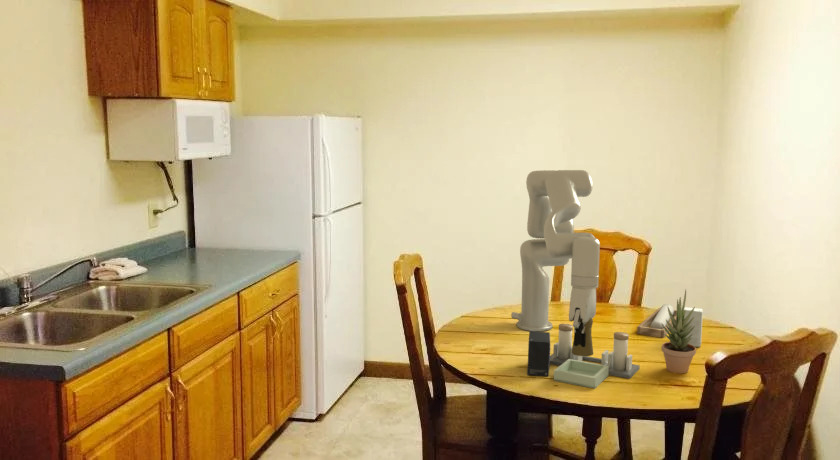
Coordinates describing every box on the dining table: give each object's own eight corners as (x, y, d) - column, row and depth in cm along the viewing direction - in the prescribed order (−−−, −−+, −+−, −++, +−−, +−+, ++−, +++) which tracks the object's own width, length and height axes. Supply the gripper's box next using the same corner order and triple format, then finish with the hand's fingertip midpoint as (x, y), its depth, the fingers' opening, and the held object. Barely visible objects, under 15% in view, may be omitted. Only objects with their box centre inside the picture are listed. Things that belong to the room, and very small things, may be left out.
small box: (549, 377, 210) (550, 341, 209) (526, 375, 211) (527, 340, 210) (549, 365, 220) (550, 331, 219) (527, 363, 222) (528, 330, 220)
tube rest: (637, 333, 253) (637, 326, 253) (658, 314, 278) (658, 307, 278) (663, 337, 248) (664, 330, 248) (683, 317, 273) (683, 311, 273)
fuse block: (544, 362, 222) (545, 327, 220) (556, 354, 231) (557, 319, 229) (630, 378, 209) (631, 340, 207) (639, 368, 217) (641, 332, 215)
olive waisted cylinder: (569, 350, 210) (569, 312, 209) (589, 349, 211) (590, 312, 209) (575, 356, 205) (576, 318, 203) (596, 355, 205) (597, 317, 203)
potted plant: (682, 377, 209) (686, 294, 206) (654, 368, 217) (658, 287, 213) (702, 371, 215) (707, 289, 212) (674, 362, 223) (678, 283, 219)
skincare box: (701, 343, 241) (703, 308, 240) (700, 347, 238) (702, 311, 236) (681, 341, 244) (683, 306, 242) (680, 345, 240) (682, 309, 238)
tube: (667, 325, 250) (676, 307, 272) (652, 318, 252) (662, 301, 274) (661, 338, 252) (671, 320, 274) (646, 331, 254) (657, 314, 276)
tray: (553, 380, 207) (553, 370, 207) (568, 368, 217) (568, 358, 217) (594, 388, 201) (595, 378, 200) (608, 375, 211) (608, 365, 211)
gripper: (581, 274, 214) (579, 334, 216) (561, 285, 200) (559, 349, 202) (607, 277, 210) (604, 338, 213) (587, 288, 196) (585, 354, 198)
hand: (582, 343), depth 207 cm, fingers closed on olive waisted cylinder, 4 cm apart
